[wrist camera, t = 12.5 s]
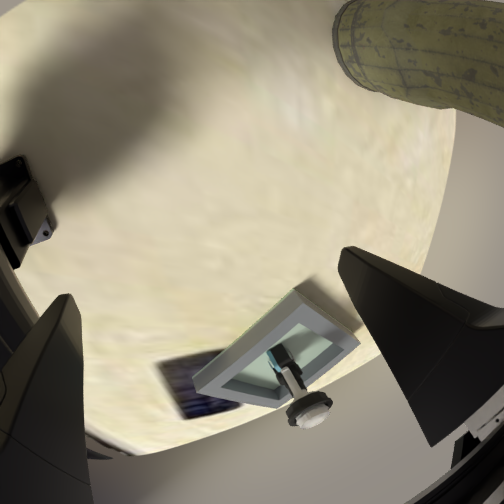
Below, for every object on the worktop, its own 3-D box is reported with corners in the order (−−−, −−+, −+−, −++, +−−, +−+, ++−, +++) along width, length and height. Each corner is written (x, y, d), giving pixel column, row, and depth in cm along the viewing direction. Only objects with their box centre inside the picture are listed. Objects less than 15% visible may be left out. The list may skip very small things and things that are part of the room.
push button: (305, 356, 38) (342, 414, 30) (271, 376, 38) (303, 437, 30) (290, 334, 34) (332, 402, 26) (251, 358, 34) (286, 429, 26)
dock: (190, 372, 33) (196, 392, 31) (289, 283, 31) (303, 302, 28) (269, 393, 43) (276, 408, 41) (349, 328, 40) (360, 343, 38)
